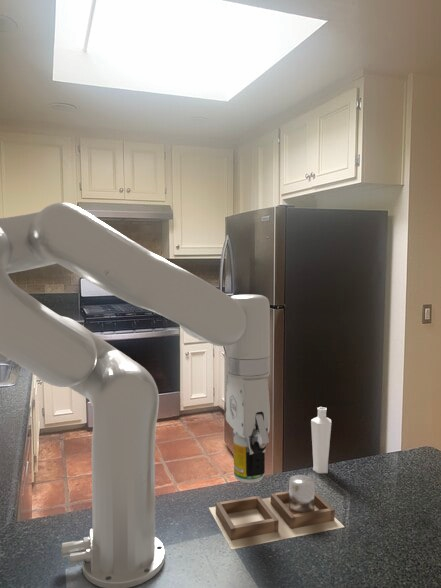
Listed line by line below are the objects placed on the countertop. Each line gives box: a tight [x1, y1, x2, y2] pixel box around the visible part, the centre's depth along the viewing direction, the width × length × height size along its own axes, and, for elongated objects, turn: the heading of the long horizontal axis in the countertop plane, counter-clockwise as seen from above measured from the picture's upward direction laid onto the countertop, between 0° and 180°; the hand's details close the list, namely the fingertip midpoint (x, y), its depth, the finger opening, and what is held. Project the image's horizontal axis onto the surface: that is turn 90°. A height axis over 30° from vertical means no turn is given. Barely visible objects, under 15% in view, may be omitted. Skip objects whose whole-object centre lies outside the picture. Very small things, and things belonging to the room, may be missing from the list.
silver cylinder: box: [288, 474, 316, 515], centre depth 83 cm, size 5×5×6 cm
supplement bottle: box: [233, 430, 265, 484], centre depth 79 cm, size 5×5×10 cm
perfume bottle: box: [310, 406, 332, 474], centre depth 99 cm, size 5×4×15 cm
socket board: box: [208, 490, 345, 551], centre depth 81 cm, size 21×13×3 cm, turn 108°
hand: (248, 465), depth 79 cm, fingers closed on supplement bottle, 5 cm apart
